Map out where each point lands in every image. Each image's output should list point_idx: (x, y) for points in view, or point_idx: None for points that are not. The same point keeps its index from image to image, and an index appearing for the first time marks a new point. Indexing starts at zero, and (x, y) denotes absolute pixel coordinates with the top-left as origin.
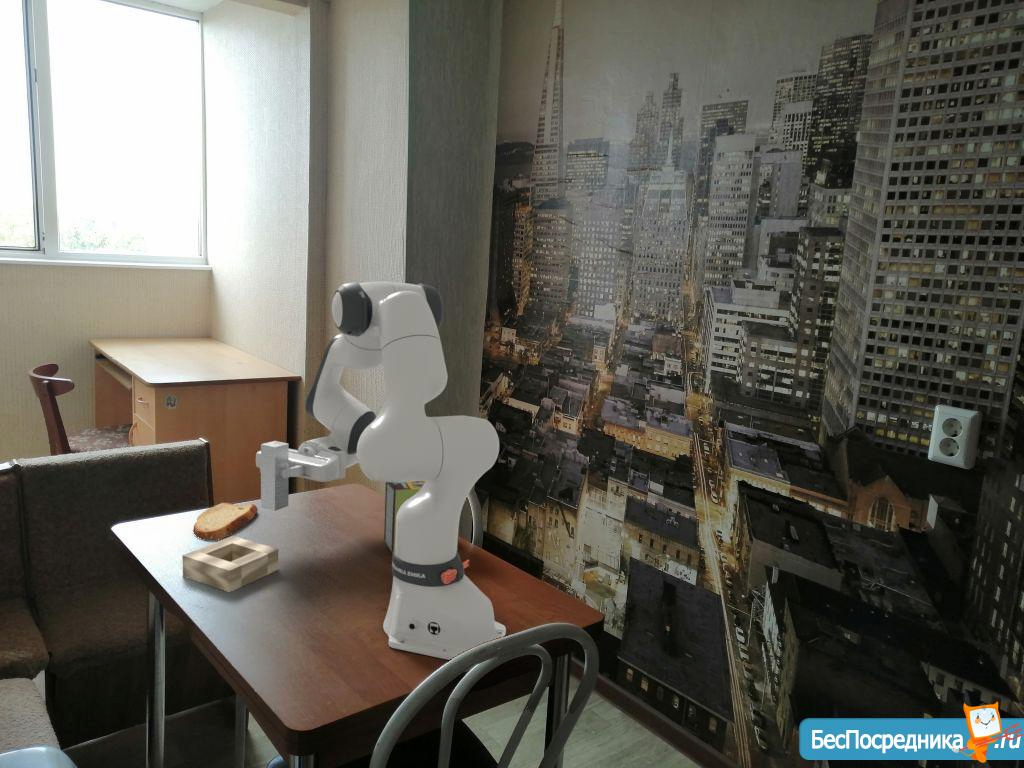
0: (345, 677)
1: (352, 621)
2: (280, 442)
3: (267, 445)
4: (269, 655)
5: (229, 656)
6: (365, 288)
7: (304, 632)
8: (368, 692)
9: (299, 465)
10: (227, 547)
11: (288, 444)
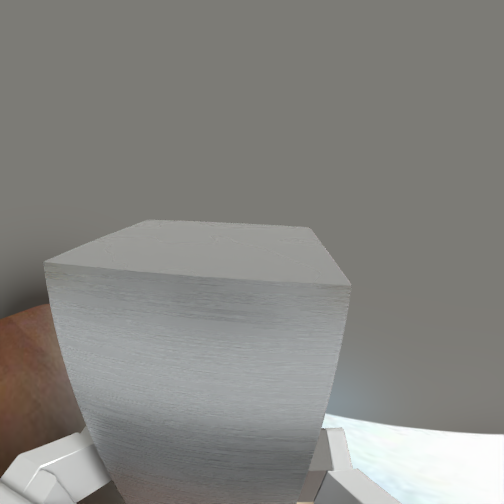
0: (19, 330)
1: (5, 389)
2: (182, 266)
3: (237, 224)
4: None
5: None
6: None
7: (53, 370)
8: (7, 322)
9: (25, 495)
10: None
11: (47, 273)
